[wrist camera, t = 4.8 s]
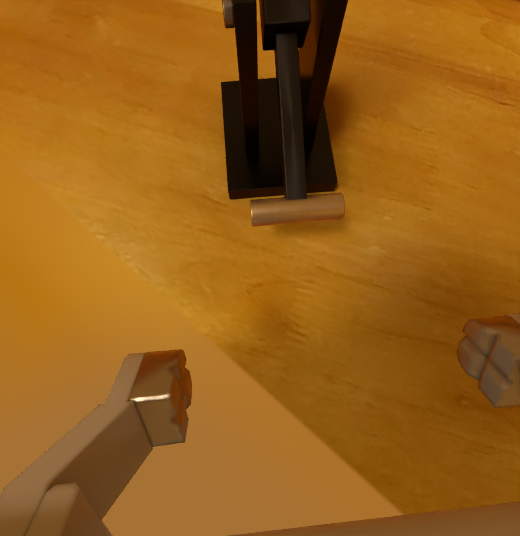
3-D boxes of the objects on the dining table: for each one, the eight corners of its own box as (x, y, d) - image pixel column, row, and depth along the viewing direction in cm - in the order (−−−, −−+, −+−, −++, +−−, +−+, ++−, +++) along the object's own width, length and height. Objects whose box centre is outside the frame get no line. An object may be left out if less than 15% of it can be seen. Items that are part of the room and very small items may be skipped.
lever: (335, 219, 19) (348, 219, 16) (251, 226, 18) (252, 227, 16) (326, -12, 17) (338, -50, 14) (232, -5, 17) (229, -42, 14)
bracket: (334, 191, 24) (398, 41, 13) (229, 199, 24) (199, 56, 12) (316, 86, 27) (356, -115, 15) (222, 93, 26) (192, -104, 15)
